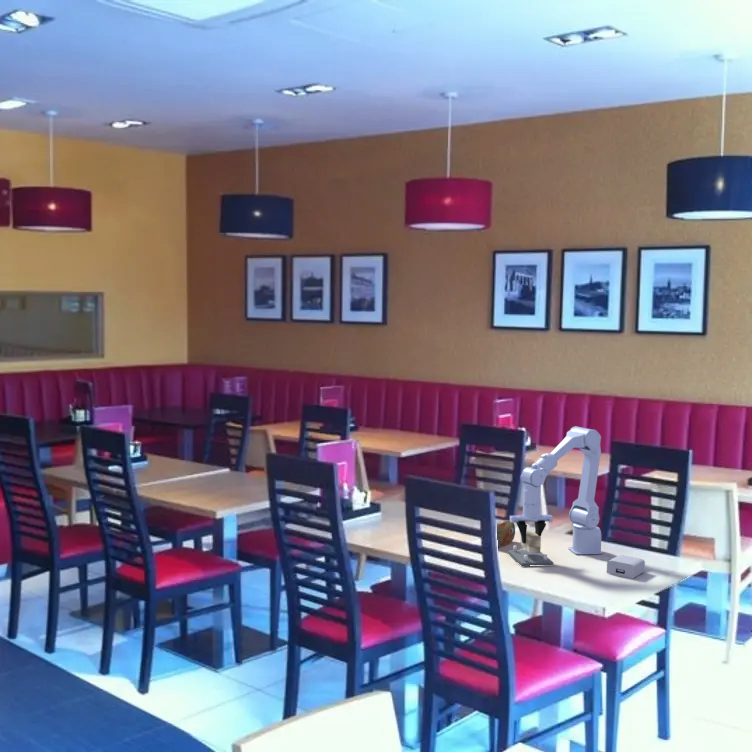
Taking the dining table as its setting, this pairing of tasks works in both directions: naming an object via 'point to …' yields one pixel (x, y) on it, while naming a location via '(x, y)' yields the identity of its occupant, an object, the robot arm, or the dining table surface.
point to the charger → (626, 566)
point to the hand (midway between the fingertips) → (530, 542)
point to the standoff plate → (529, 557)
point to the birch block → (532, 542)
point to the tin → (505, 532)
